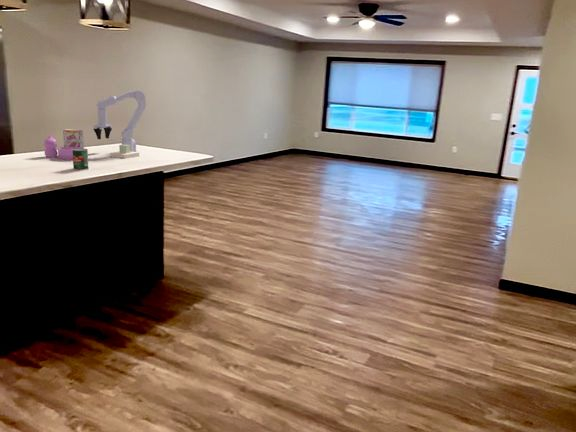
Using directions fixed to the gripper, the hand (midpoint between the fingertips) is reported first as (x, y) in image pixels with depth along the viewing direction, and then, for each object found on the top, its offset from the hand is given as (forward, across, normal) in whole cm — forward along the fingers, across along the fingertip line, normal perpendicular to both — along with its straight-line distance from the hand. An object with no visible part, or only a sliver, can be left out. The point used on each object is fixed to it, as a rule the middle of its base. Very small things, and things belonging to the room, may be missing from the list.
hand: (103, 138), depth 339 cm
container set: (+10, +33, -1) cm, 34 cm away
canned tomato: (+10, +54, +34) cm, 65 cm away
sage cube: (+7, +3, +21) cm, 22 cm away
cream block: (+10, +3, +21) cm, 23 cm away
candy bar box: (+10, +21, -5) cm, 24 cm away
